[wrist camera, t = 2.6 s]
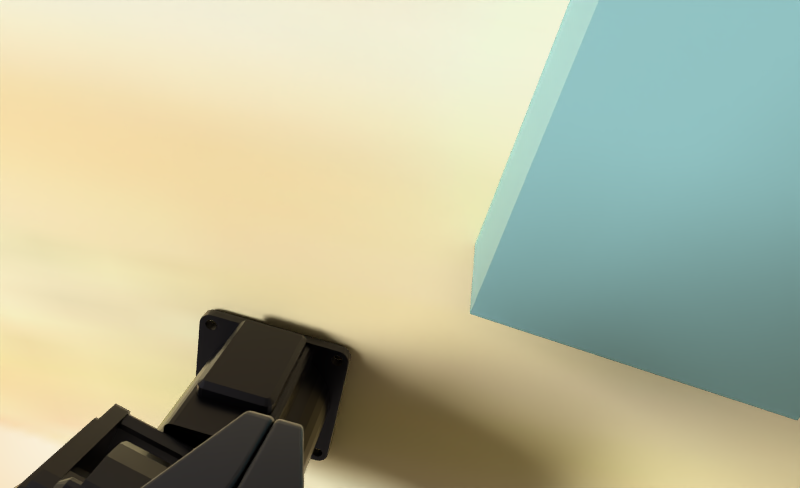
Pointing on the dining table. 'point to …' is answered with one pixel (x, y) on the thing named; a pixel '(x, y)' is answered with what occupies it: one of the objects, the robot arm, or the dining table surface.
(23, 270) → the dining table surface
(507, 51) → the dining table surface
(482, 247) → the teal block
